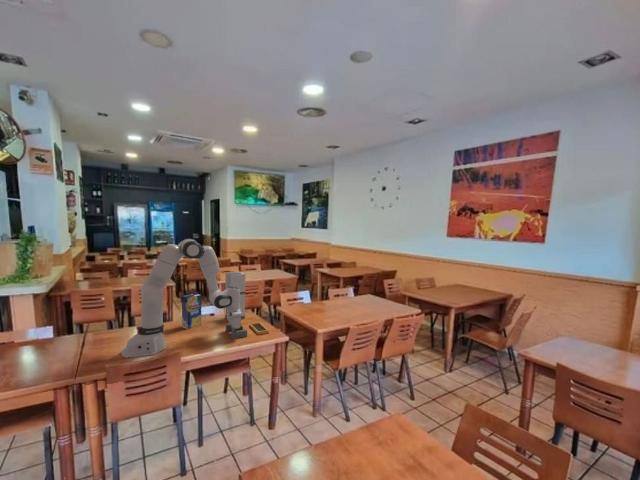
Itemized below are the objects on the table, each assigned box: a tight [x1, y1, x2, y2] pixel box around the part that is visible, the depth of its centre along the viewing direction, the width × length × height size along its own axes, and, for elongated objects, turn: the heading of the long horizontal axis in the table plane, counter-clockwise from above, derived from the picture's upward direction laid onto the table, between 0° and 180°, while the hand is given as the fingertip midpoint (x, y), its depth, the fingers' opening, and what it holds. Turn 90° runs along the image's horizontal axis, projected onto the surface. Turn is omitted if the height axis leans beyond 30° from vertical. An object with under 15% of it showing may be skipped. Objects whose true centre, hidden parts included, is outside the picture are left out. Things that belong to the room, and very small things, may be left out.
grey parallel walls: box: [225, 323, 248, 340], centre depth 210 cm, size 10×16×4 cm, turn 31°
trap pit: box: [248, 321, 270, 336], centre depth 219 cm, size 8×18×2 cm, turn 31°
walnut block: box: [235, 324, 244, 331], centre depth 211 cm, size 5×5×5 cm
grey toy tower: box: [224, 271, 246, 320], centre depth 241 cm, size 11×11×35 cm
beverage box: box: [181, 293, 202, 330], centre depth 221 cm, size 7×11×22 cm, turn 148°
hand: (233, 330), depth 209 cm, fingers closed, pressing on walnut block
